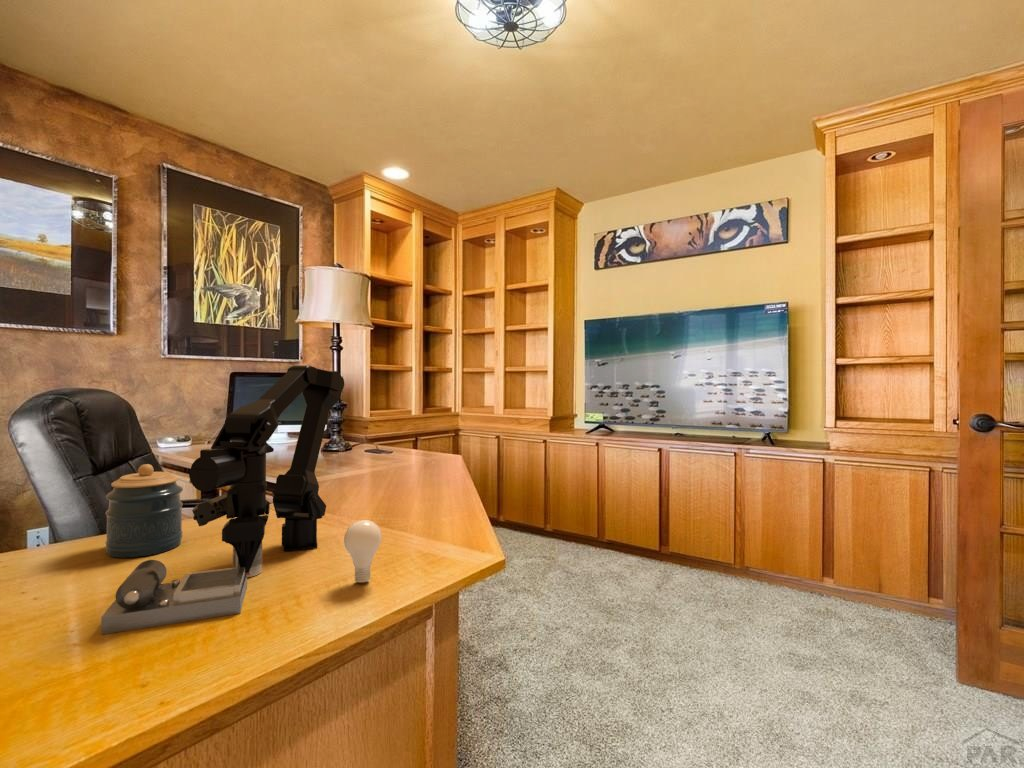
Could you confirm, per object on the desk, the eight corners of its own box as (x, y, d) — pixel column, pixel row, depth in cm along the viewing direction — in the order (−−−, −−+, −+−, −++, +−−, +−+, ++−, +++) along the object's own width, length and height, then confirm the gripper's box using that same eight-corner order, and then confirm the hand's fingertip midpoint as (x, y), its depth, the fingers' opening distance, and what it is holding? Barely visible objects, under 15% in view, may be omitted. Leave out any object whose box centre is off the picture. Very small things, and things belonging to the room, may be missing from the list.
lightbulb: (346, 592, 83) (347, 527, 83) (340, 579, 88) (341, 518, 88) (384, 586, 86) (385, 522, 86) (376, 573, 91) (377, 514, 91)
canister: (157, 535, 112) (158, 457, 112) (196, 543, 107) (197, 462, 107) (90, 553, 100) (91, 466, 100) (130, 563, 95) (131, 471, 95)
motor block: (246, 587, 84) (247, 547, 84) (239, 615, 74) (240, 569, 74) (124, 604, 78) (125, 560, 78) (99, 636, 68) (99, 586, 68)
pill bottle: (267, 570, 92) (268, 525, 92) (246, 580, 87) (247, 533, 87) (248, 567, 93) (248, 523, 93) (226, 576, 89) (227, 530, 89)
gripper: (206, 473, 96) (205, 553, 96) (185, 494, 79) (185, 591, 79) (270, 470, 100) (269, 546, 100) (263, 488, 83) (262, 581, 83)
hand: (247, 564), depth 90 cm, fingers open, 8 cm apart
